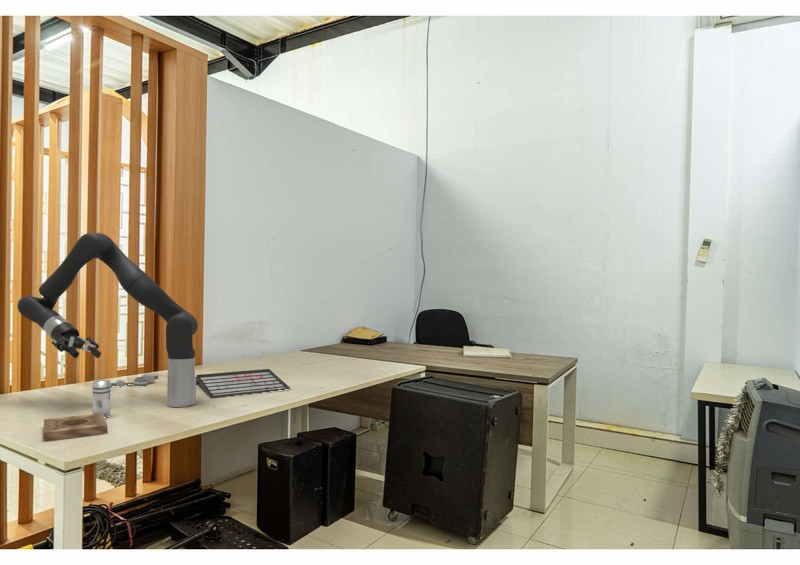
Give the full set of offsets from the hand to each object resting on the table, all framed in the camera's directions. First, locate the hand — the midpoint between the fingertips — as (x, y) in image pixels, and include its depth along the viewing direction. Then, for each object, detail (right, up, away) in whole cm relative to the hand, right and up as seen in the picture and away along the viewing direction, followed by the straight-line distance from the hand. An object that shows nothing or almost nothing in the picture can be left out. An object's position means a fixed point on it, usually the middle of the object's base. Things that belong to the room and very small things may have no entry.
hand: (88, 355), depth 184 cm
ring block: (+7, -20, -20) cm, 29 cm away
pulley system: (-7, -19, +46) cm, 51 cm away
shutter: (+38, -20, +46) cm, 63 cm away
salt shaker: (+7, -20, -4) cm, 21 cm away
